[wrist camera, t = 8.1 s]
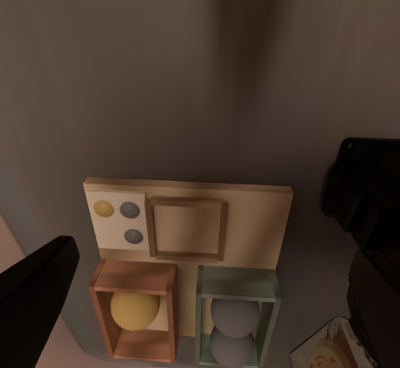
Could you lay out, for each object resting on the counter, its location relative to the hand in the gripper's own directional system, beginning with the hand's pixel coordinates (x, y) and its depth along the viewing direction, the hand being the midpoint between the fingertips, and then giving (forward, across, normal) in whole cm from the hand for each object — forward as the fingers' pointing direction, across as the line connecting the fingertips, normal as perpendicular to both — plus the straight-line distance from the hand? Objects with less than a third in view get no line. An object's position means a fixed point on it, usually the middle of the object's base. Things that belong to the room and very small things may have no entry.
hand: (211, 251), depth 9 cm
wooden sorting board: (+12, +2, +15) cm, 19 cm away
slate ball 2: (+11, -2, +21) cm, 24 cm away
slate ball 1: (+11, -2, +16) cm, 20 cm away
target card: (+12, +8, +8) cm, 16 cm away
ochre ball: (+11, +7, +16) cm, 21 cm away
